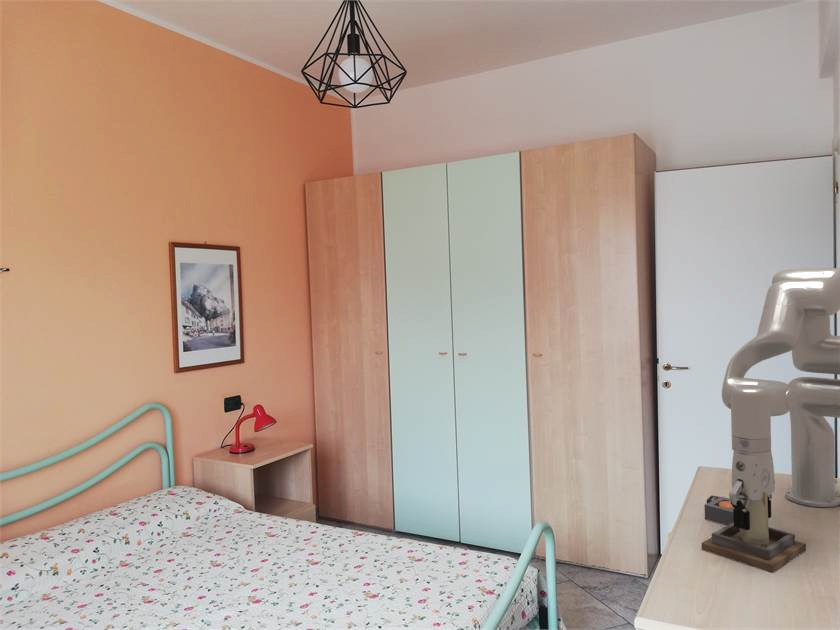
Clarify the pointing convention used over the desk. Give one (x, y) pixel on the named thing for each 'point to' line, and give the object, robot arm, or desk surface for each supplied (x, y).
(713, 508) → the button housing
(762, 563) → the square wooden tray
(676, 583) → the desk surface
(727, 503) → the button
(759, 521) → the skincare box
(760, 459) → the robot arm
